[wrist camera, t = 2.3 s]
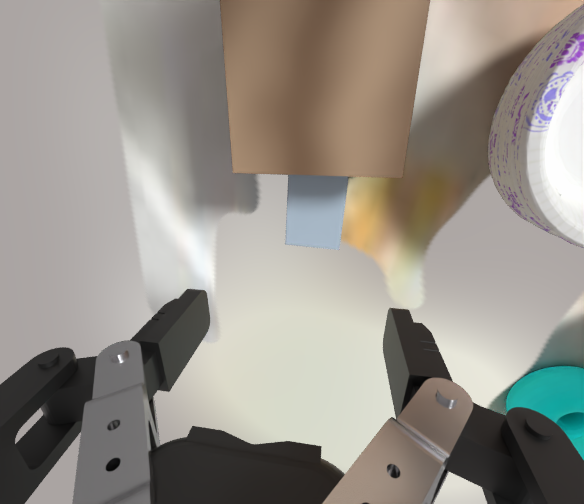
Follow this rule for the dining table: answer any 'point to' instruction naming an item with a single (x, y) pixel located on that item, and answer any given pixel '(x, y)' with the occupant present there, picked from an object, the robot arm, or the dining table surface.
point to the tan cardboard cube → (321, 84)
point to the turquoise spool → (554, 399)
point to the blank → (315, 210)
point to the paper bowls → (544, 134)
